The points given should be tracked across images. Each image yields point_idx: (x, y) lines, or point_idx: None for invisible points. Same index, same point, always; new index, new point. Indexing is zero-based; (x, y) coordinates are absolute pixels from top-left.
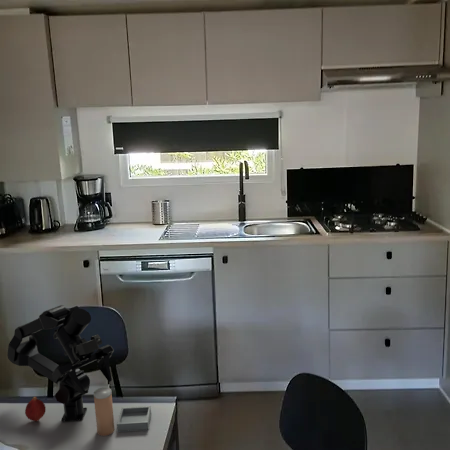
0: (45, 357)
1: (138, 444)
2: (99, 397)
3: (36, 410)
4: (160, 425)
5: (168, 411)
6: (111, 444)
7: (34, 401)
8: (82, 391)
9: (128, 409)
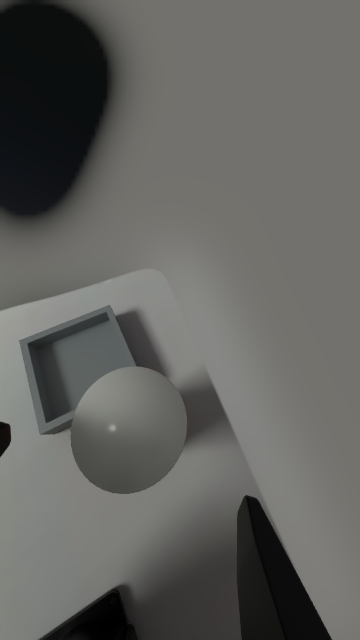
0: None
1: (175, 307)
2: (184, 405)
3: None
4: (88, 300)
5: (18, 312)
6: (201, 368)
7: None
8: (268, 531)
9: (44, 405)
